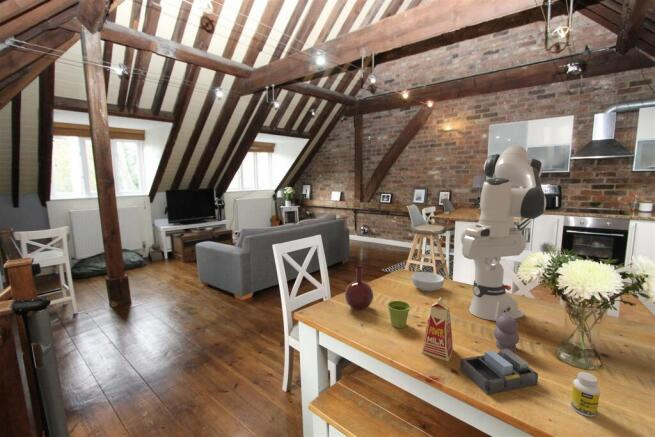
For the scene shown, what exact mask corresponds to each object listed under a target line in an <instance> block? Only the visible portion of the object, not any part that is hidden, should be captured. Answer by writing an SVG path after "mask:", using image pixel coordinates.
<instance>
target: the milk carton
mask: <svg viewBox="0 0 655 437" xmlns="http://www.w3.org/2000/svg"><path fill="white" fill-rule="evenodd" d="M450 312H451V311H450V307H449V306H448V305H447V304H446V303H445V302H444V301H443V299H442V297H441V296H440V297H439V299H437V301H436V302H434V303H432V304H431V306H430V310H429V313H428V317H427V320H426V330H425V336H424V341H423V344H422V350H421V353H422V354H424V355H428V356H429V357H434V358H436V359H440V360H443V361H446V362H449V361H450V358H451V356H452V355H453V354H452V353H453V350H454V345H453V344H454V342H453V332H452V330H453V328H452V319H451V313H450Z"/></svg>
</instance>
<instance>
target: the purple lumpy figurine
mask: <svg viewBox="0 0 655 437" xmlns="http://www.w3.org/2000/svg"><path fill="white" fill-rule="evenodd" d="M495 322H496V327H495V328H494V331H493V337H494V338H495V339H496V341H495V347H496V348H497V349H498V350H499V351H500V350H501V349H509V350H510V351H512V352H513V353H516V351H517V344H518V343H519V342H520V335H519V333H518V332H517V331H518V328H519V324H518V320H516V319H514V318H512V317H511V316H508V315H506V314H505V312H504V313H503V315H502V316H500V317H498V319H497V321H495Z"/></svg>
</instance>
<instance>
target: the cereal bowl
mask: <svg viewBox="0 0 655 437" xmlns="http://www.w3.org/2000/svg"><path fill="white" fill-rule="evenodd" d="M444 281H445V278H444V276H442V275H440V274H438V273H434V272H427V271H423V272H422V271H420V272H414V273H413V274H412V275H411V282H412V284H413V285H414V286H415V287H416V288H417V289H419V290H420V291H423V292H435V291H438V290H440V289H442V287H443V286H444V283H445V282H444Z"/></svg>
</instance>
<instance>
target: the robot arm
mask: <svg viewBox="0 0 655 437" xmlns="http://www.w3.org/2000/svg"><path fill="white" fill-rule="evenodd" d="M542 173H543V166H542V162H541V160H539V159H537V158H536V159H535V158H533V157H532V158H529V153H528V151H527V149H525V148H524V147H522V146H520V145H511V146H508V147H507V148H505V149H504V150H503V152H502V153H501V154H499V153H496V154H491V155H489V156H488V157H487V158H486V160H485V162H484V164H483V174H484V175H485V177H487V178H488V179H486V180H485V181H484V182H483V184H482V188H481V189H482V190H481V193H480V195H479V203H478V205H479V206H478V208H479V209H480V215H479V218H478V219H479V220H478V222H475V223H474V224H472V225H469V226H467V227H465V228H463V230H462V232H461V233H460V243H461V244H462V247H461V248H462V249H461V255H462V256H463V257H464V258H466V259H468V260H473V263H474V280H473V288H472V289H473V295H472V299H471V303H470V307H469V309H468V310H469V313H471V314H472V315H473V316H475V317H478V318H480V319H484V320H489V321H493V322H496V321H497V319H498V317H500V316H502V315H503V313H504V312H505V314H506V315H508V316H511V317H512V318H514V319H515V320H516V319H519V318H523V317H524V316H525V314H524V312H523V311H522V310H520V309H519V306H518V302H517V300H516V299H515V298H514V297H512V295H510V294H509V293H507V290H508V291H510V290H512V289H511V288H512V286H511V285H508V284H504V272H505V270H504V267H503V265H502V264H501V263H500V262H501V259H502V258H504V257H516V256H520V255H521V254H522V253H523V252H524V251H525V249H526V248H527V247H526V246H527V241H526V237H525V236H524V235H523V233H521V230H520V229H519V228H518V227H516V225H515V220H514V218H521V219H530V220H535V219H537V218H539V217H541V216H542V215H543V214H544V213H545V211H546V207H547V198H546V196H545V192H544V190H543V188H542V187H543V186H542V184H541V179H540V177H541V176H542Z"/></svg>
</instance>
